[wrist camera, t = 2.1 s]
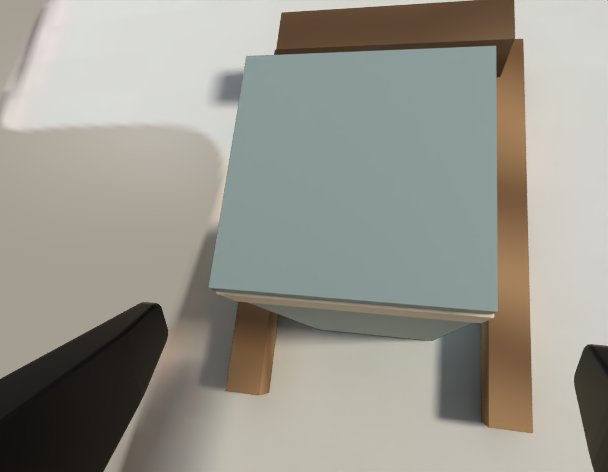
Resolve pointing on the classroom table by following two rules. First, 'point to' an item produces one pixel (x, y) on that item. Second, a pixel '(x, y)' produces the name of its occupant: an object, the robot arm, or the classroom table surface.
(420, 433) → the classroom table surface
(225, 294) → the block
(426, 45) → the wooden beam frame
